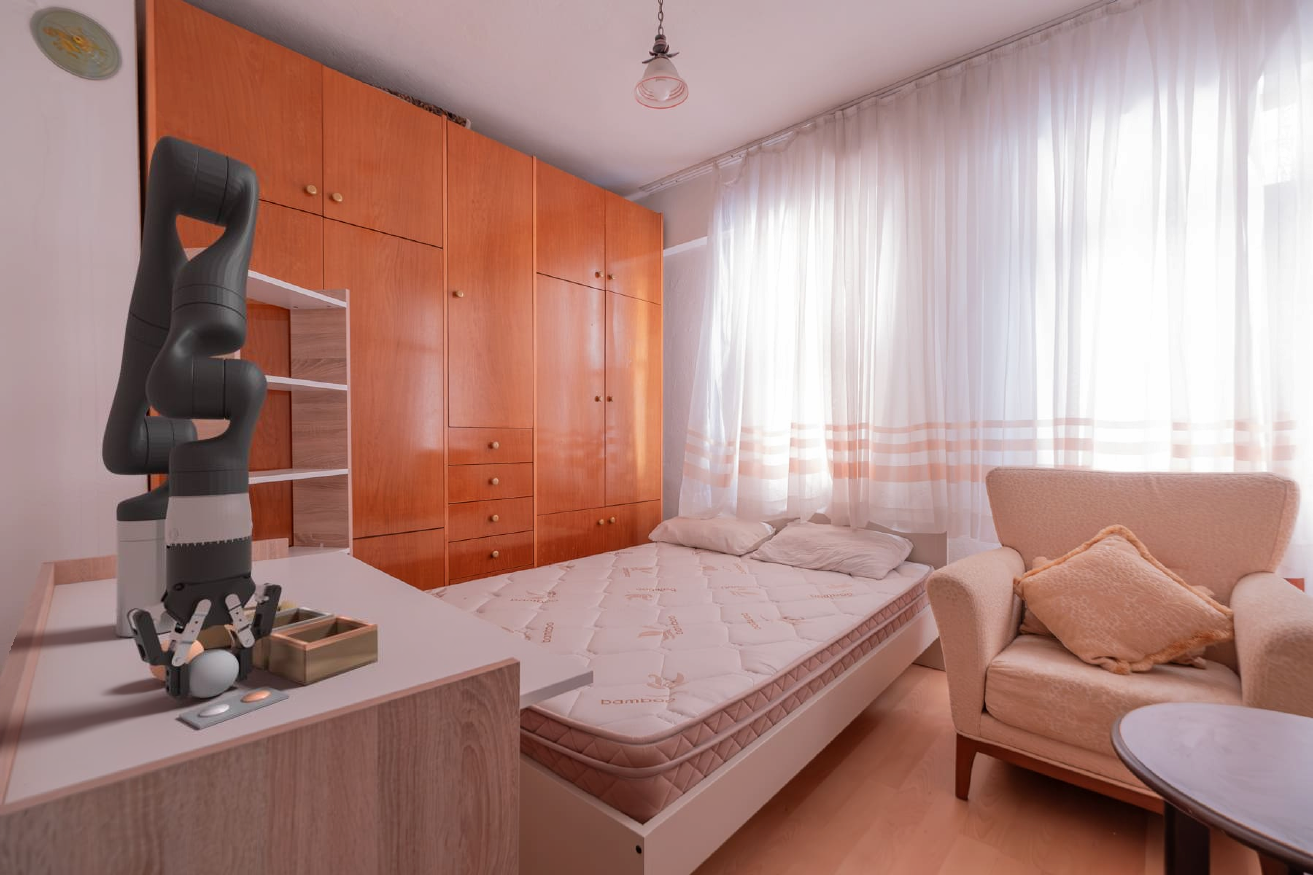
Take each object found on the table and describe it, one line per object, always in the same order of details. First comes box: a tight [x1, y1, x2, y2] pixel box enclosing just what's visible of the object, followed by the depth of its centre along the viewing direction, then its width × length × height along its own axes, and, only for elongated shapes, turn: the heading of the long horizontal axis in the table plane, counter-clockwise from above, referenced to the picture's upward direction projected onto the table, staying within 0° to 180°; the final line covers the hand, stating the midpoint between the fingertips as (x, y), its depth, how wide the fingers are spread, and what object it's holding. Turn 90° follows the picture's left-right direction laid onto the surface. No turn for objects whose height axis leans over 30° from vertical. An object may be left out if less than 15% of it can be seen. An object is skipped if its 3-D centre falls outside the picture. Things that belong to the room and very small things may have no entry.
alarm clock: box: [196, 600, 298, 650], centre depth 83 cm, size 11×5×15 cm
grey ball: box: [188, 648, 239, 699], centre depth 63 cm, size 5×5×5 cm
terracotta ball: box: [148, 638, 205, 682], centre depth 67 cm, size 5×5×5 cm
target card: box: [178, 685, 290, 730], centre depth 60 cm, size 5×8×1 cm, turn 149°
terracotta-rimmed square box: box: [268, 615, 379, 687], centre depth 71 cm, size 9×9×5 cm
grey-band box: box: [230, 606, 335, 670], centre depth 76 cm, size 9×9×5 cm
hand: (210, 687), depth 63 cm, fingers closed on grey ball, 5 cm apart
